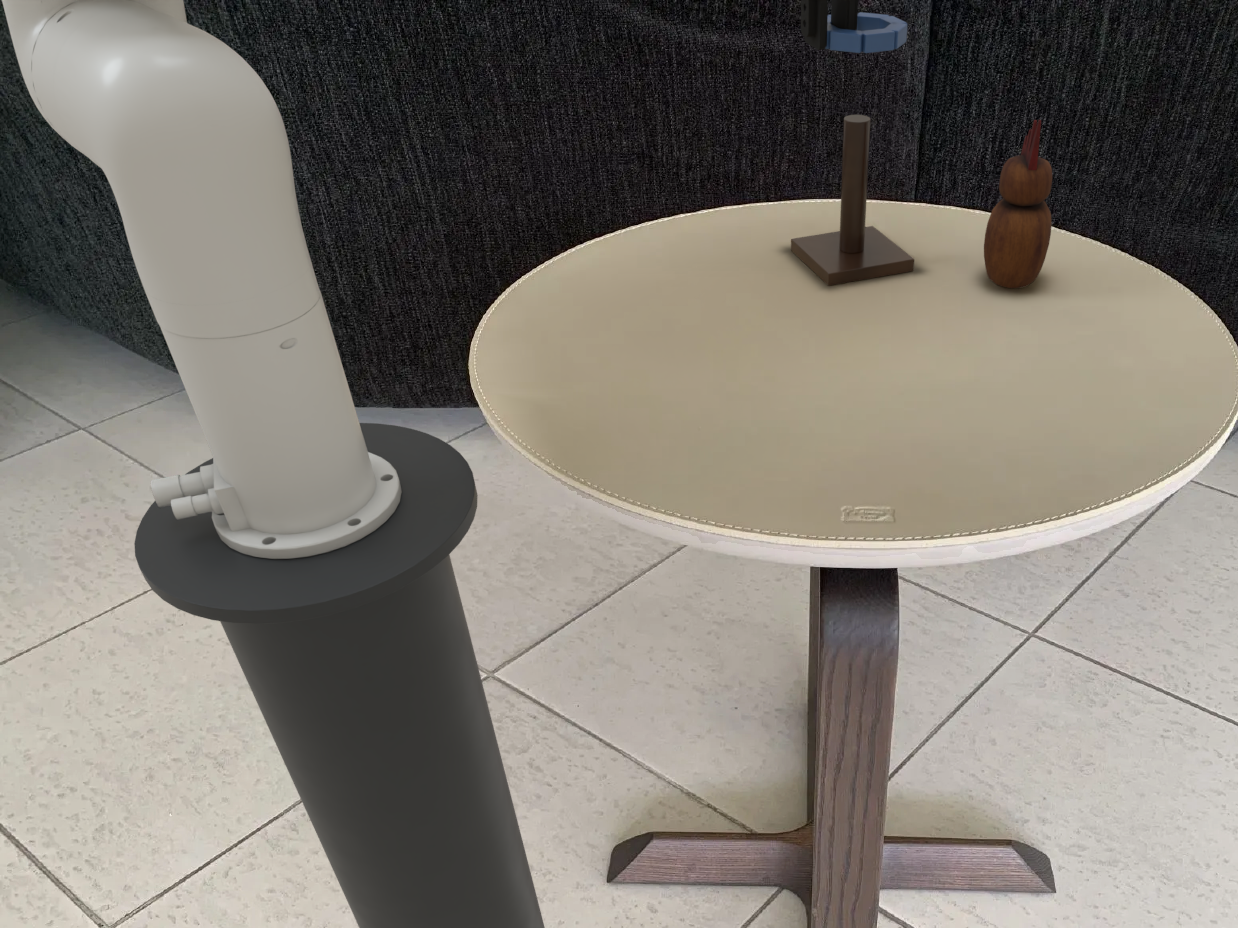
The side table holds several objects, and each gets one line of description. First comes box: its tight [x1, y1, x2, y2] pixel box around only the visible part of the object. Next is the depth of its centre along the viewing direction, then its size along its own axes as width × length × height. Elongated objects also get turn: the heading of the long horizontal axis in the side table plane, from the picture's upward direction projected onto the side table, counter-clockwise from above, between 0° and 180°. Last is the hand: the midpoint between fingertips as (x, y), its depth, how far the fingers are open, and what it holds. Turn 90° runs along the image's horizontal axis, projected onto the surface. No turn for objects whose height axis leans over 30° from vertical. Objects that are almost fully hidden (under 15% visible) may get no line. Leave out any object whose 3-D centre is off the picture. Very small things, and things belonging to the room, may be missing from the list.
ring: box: [824, 11, 908, 54], centre depth 91 cm, size 8×8×1 cm
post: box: [790, 114, 915, 287], centre depth 100 cm, size 9×9×13 cm
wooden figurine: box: [983, 119, 1053, 289], centre depth 96 cm, size 7×6×15 cm
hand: (828, 42), depth 91 cm, fingers closed on ring, 1 cm apart
